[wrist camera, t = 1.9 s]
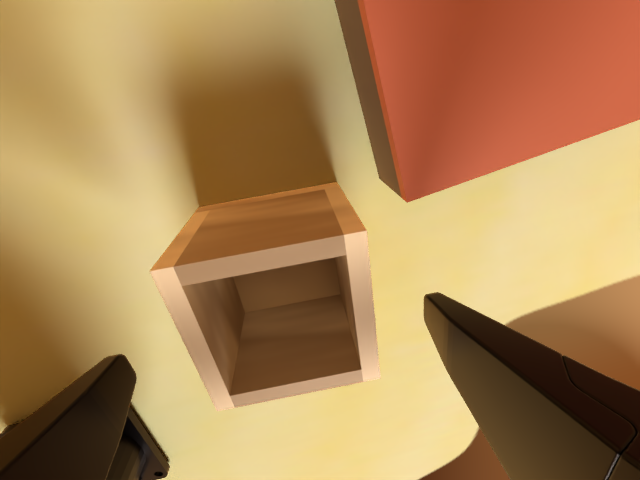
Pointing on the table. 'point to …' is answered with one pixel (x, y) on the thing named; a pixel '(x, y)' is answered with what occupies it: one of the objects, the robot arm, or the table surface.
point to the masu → (273, 295)
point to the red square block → (487, 81)
